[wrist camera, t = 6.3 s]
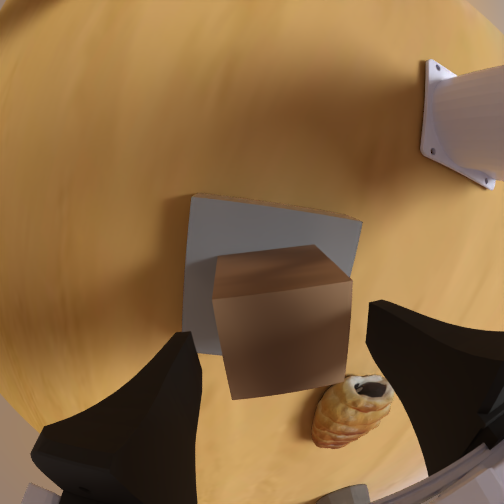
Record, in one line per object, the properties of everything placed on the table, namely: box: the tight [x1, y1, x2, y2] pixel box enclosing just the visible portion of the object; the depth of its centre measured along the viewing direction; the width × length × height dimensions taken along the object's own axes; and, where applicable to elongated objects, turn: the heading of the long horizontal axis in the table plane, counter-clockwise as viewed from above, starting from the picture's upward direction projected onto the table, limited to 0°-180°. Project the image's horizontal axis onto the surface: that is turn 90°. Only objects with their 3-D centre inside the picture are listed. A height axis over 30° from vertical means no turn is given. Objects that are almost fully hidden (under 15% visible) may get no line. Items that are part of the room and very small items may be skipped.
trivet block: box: [182, 193, 363, 356], centre depth 16 cm, size 9×9×3 cm
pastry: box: [311, 375, 394, 449], centre depth 20 cm, size 9×7×4 cm
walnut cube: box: [212, 244, 353, 400], centre depth 13 cm, size 5×5×5 cm
